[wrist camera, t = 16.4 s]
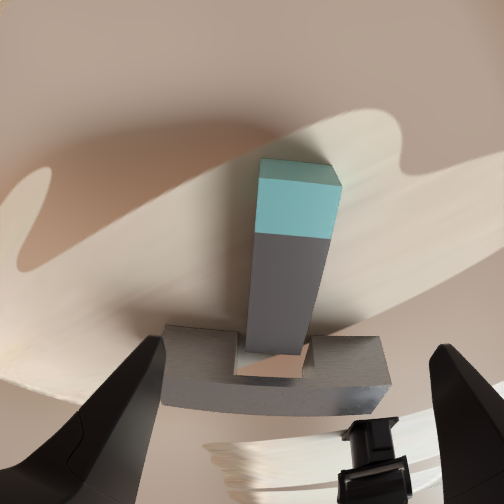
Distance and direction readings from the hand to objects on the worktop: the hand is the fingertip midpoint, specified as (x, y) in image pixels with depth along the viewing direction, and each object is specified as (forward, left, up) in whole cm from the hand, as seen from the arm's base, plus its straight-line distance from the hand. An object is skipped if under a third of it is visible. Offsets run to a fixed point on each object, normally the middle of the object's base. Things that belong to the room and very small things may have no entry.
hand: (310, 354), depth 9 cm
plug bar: (-5, 0, -11) cm, 12 cm away
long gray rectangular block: (-15, 0, -11) cm, 18 cm away
